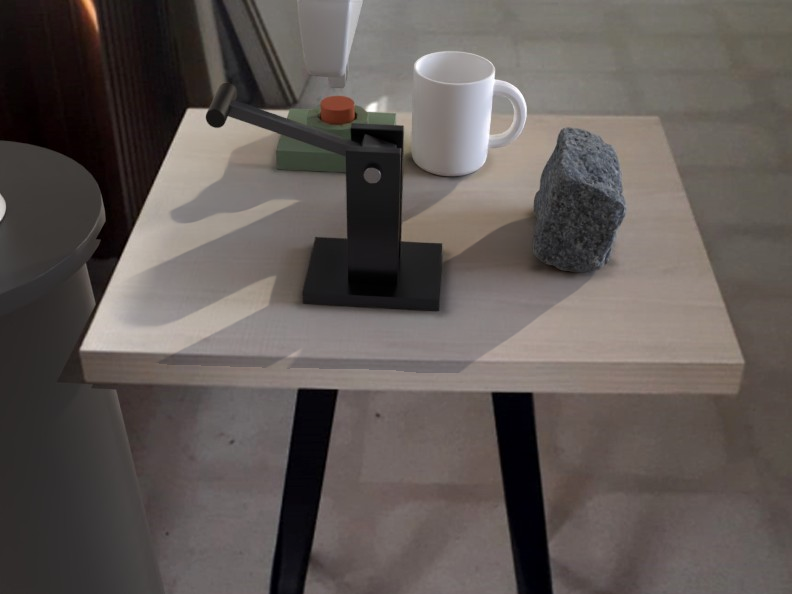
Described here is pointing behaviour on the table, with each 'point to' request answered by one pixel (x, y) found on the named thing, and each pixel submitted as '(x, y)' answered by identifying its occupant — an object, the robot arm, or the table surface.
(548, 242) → the stone
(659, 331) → the table surface
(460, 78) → the mug
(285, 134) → the press lever
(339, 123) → the stop button
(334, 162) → the button block
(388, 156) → the lever bracket
